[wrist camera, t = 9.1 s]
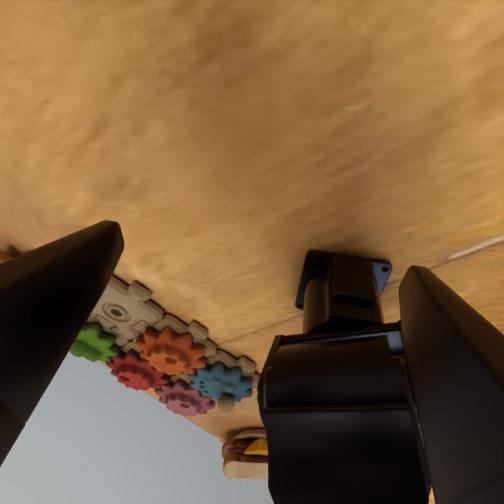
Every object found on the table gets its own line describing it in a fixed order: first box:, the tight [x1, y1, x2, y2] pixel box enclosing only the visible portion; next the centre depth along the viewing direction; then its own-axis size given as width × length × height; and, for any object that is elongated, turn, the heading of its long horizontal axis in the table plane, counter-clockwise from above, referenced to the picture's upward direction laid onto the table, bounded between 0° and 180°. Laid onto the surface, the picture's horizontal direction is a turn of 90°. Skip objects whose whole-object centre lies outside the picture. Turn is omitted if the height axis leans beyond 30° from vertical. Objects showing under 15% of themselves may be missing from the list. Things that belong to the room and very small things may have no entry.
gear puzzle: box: [0, 251, 260, 416], centre depth 34 cm, size 31×16×4 cm, turn 46°
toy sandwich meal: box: [222, 429, 268, 479], centre depth 48 cm, size 12×14×5 cm
